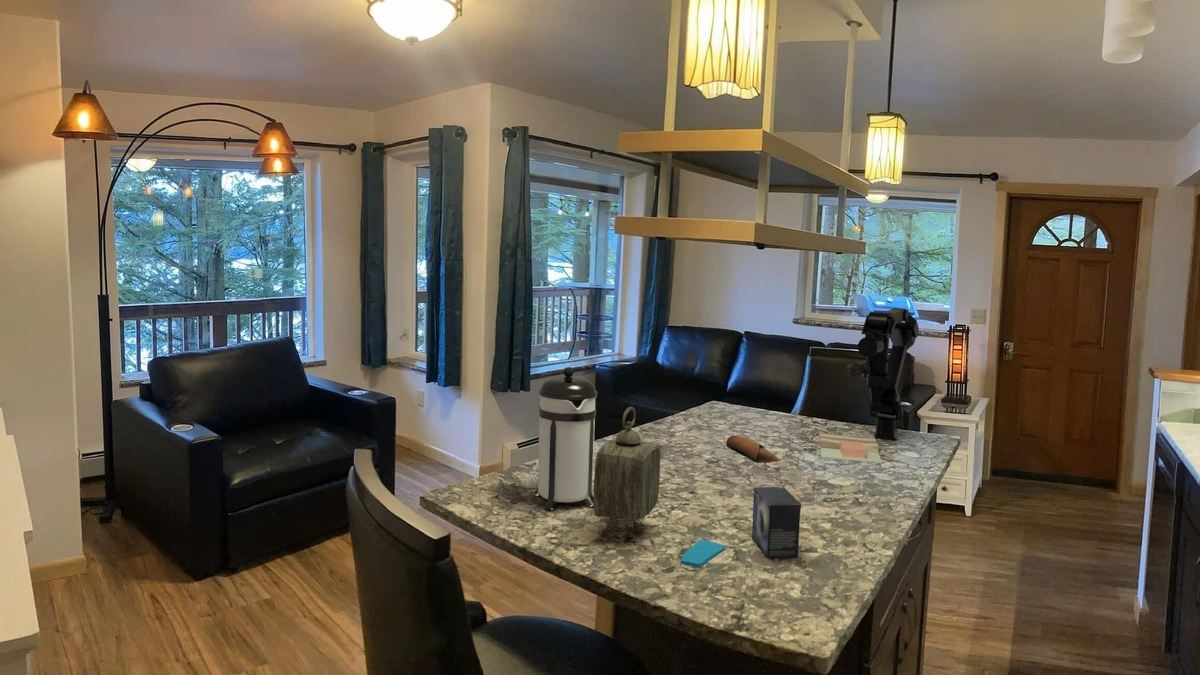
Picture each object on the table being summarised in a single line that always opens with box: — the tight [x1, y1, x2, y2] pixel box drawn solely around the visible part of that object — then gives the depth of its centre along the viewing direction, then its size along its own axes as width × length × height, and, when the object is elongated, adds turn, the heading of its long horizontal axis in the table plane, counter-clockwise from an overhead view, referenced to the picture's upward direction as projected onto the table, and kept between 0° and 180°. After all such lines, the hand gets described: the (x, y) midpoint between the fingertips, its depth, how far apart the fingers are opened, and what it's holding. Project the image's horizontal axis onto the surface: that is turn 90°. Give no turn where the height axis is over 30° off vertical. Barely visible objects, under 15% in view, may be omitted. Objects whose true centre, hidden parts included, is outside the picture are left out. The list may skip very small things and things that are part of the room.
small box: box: [751, 486, 802, 559], centre depth 147 cm, size 11×6×10 cm, turn 5°
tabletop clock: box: [593, 406, 661, 538], centre depth 152 cm, size 14×9×25 cm, turn 159°
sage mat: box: [820, 448, 883, 464], centre depth 218 cm, size 10×16×1 cm, turn 75°
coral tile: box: [839, 441, 866, 459], centre depth 219 cm, size 9×6×2 cm, turn 168°
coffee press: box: [533, 366, 598, 511], centre depth 170 cm, size 17×16×30 cm
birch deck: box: [819, 432, 880, 453], centre depth 229 cm, size 12×16×2 cm
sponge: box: [680, 539, 727, 568], centre depth 143 cm, size 2×12×6 cm
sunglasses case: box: [725, 435, 781, 464], centre depth 217 cm, size 18×7×7 cm
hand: (874, 405), depth 231 cm, fingers closed
